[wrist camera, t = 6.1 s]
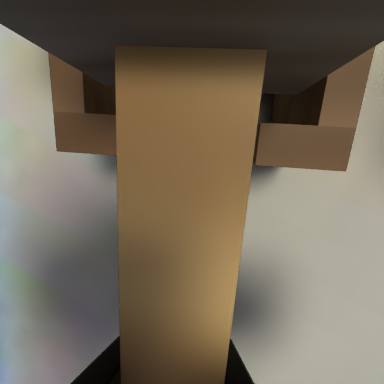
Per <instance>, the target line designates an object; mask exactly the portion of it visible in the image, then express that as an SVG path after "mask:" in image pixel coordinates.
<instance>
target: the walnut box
mask: <svg viewBox="0 0 384 384" xmlns="http://www.w3.org/2000/svg"><path fill="white" fill-rule="evenodd" d="M374 49H375V46H374V47H373V48H371V49H369V50H368V51H366V52H364V53H363V54H361V55H360V56H358V57H356V58H355V59H353V60H352V61H350V62H348V63H347V64H345V65H344V66H342V67H340V68H339V69H337V70H336V71H334V72H332V73H331V74H329V75H328V76H326V77H324V78H323V79H321V80H320V81H318V82H316V83H315V84H313V85H312V86H310V87H308V88H307V89H305V90H303V91H302V92H300V93H299V94H297V95H287V94H275V98H274V105H273V112H272V119H271V123H259V124H257V132H256V140H255V148H254V155H253V163H252V164H254V165H261V166H276V167H290V168H305V169H319V170H333V171H346V169H347V165H348V161H349V156H350V152H351V148H352V143H353V139H354V135H355V131H356V126H357V122H358V118H359V113H360V109H361V105H362V101H363V96H364V92H365V88H366V83H367V79H368V75H369V71H370V66H371V62H372V58H373V53H374ZM48 54H49V65H50V77H51V89H52V101H53V113H54V125H55V136H56V148H57V151H60V152H74V153H89V154H103V155H117V141H116V87H106V86H105V85H103V84H101V83H100V82H98V81H96V80H95V79H93V78H91V77H89V76H88V75H86V74H84V73H83V72H81V71H79V70H78V69H76V68H74V67H73V66H71V65H69V64H68V63H66V62H64V61H63V60H61V59H59V58H58V57H56V56H54V55H52V54H51V53H49V52H48Z"/></svg>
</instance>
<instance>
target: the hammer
mask: <svg viewBox="0 0 384 384" xmlns="http://www.w3.org/2000/svg"><path fill="white" fill-rule="evenodd" d="M0 24H2V25H4V26H5V27H7V28H9V29H10V30H12V31H14V32H15V33H17V34H19V35H20V36H22V37H24V38H26V39H27V40H29V41H31V42H32V43H34V44H36V45H37V46H39V47H41V48H42V49H44V50H46V51H47V52H49V53H51V54H52V55H54V56H56V57H58V58H59V59H61V60H63V61H64V62H66V63H68V64H69V65H71V66H73V67H74V68H76V69H78V70H79V71H81V72H83V73H84V74H86V75H88V76H89V77H91V78H93V79H95V80H96V81H98V82H100V83H101V84H103V85H105V86H106V87H116V141H117V198H118V254H119V311H120V367H121V384H224V381H225V374H226V366H227V358H228V350H229V342H230V335H231V327H232V319H233V311H234V303H235V296H236V288H237V280H238V272H239V264H240V257H241V249H242V241H243V233H244V226H245V218H246V210H247V202H248V194H249V187H250V179H251V171H252V163H253V155H254V148H255V140H256V132H257V124H258V116H259V109H260V101H261V93H264V94H287V95H297V94H299V93H300V92H302V91H303V90H305V89H307V88H308V87H310V86H312V85H313V84H315V83H316V82H318V81H320V80H321V79H323V78H324V77H326V76H328V75H329V74H331V73H332V72H334V71H336V70H337V69H339V68H340V67H342V66H344V65H345V64H347V63H348V62H350V61H352V60H353V59H355V58H356V57H358V56H360V55H361V54H363V53H364V52H366V51H368V50H369V49H371V48H373V47H374V46H376V45H377V44H379V43H381V42H382V41H384V0H0Z"/></svg>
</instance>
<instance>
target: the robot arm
mask: <svg viewBox="0 0 384 384" xmlns="http://www.w3.org/2000/svg"><path fill="white" fill-rule="evenodd" d="M71 384H121V367H120V336H118V337H117V338H116V339H115V340H114V341H113V342H112V343H111V344H110V345H109V346H108V347H107V348H106V349H105V350H104V351H103V352H102V353H101V354H100V355H99V356H98V357H97V358H96V359H95V360H94V361H93V362H92V363H91V364H90V365H89V366H88V367H87V368H86V369H85V370H84V371H83V372H82V373H81V374H80V375H79V376H78V377H77V378H76V379H75V380H74V381H73V382H72V383H71ZM224 384H254V383H253V381H252V379H251V377H250V375H249V373H248V371H247V369H246V367H245V365H244V363H243V361H242V359H241V357H240V355H239V353H238V351H237V349H236V348H235V346H234V344H233V342H232V340H231V339H230V342H229V350H228V358H227V366H226V374H225V381H224Z"/></svg>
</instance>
